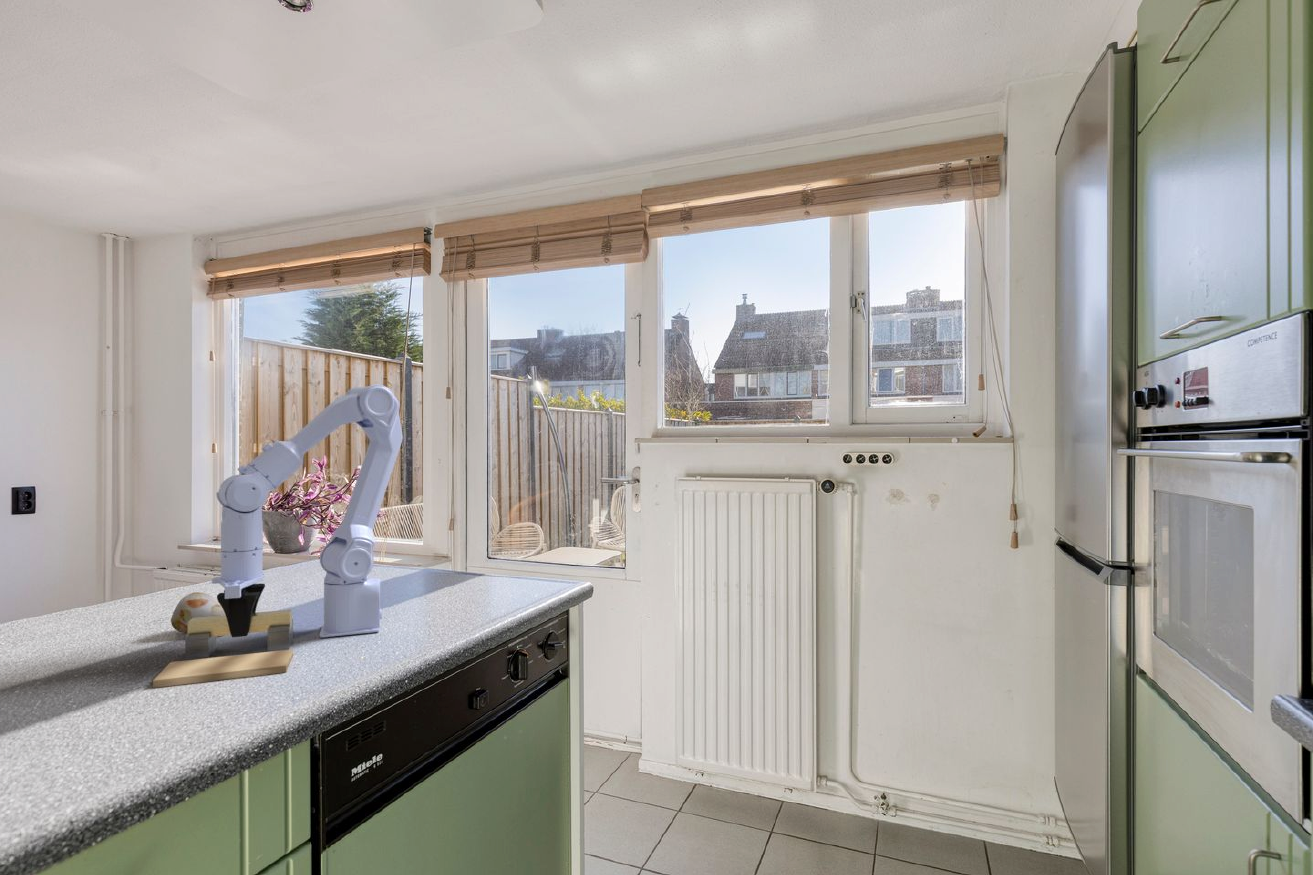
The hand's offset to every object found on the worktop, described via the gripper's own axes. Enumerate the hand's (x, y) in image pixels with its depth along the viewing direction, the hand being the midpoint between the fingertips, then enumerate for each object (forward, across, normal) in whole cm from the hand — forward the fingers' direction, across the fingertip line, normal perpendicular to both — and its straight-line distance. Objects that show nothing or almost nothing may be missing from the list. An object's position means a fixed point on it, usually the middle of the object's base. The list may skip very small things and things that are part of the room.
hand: (241, 633), depth 106 cm
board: (+3, +10, 0) cm, 10 cm away
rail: (0, 0, 0) cm, 0 cm away
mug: (+3, -14, -7) cm, 16 cm away
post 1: (+3, 0, -6) cm, 6 cm away
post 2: (+3, 0, +6) cm, 6 cm away
